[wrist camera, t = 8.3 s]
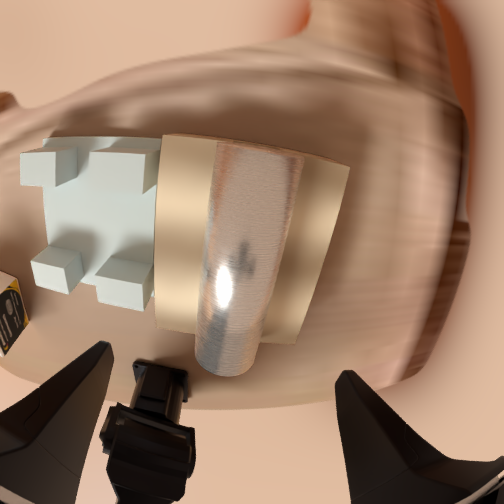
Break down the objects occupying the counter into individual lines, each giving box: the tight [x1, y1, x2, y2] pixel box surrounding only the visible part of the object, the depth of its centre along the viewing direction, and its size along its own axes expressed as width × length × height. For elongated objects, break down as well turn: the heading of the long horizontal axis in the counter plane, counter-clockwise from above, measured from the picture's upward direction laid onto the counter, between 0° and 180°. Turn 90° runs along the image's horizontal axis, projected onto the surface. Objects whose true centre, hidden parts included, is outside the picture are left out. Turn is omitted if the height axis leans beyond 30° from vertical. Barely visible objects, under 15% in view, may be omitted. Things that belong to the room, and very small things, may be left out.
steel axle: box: [195, 142, 305, 377], centre depth 16 cm, size 14×4×4 cm, turn 170°
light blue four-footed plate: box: [20, 136, 162, 311], centre depth 18 cm, size 13×11×4 cm
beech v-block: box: [154, 133, 350, 345], centre depth 19 cm, size 14×11×4 cm
